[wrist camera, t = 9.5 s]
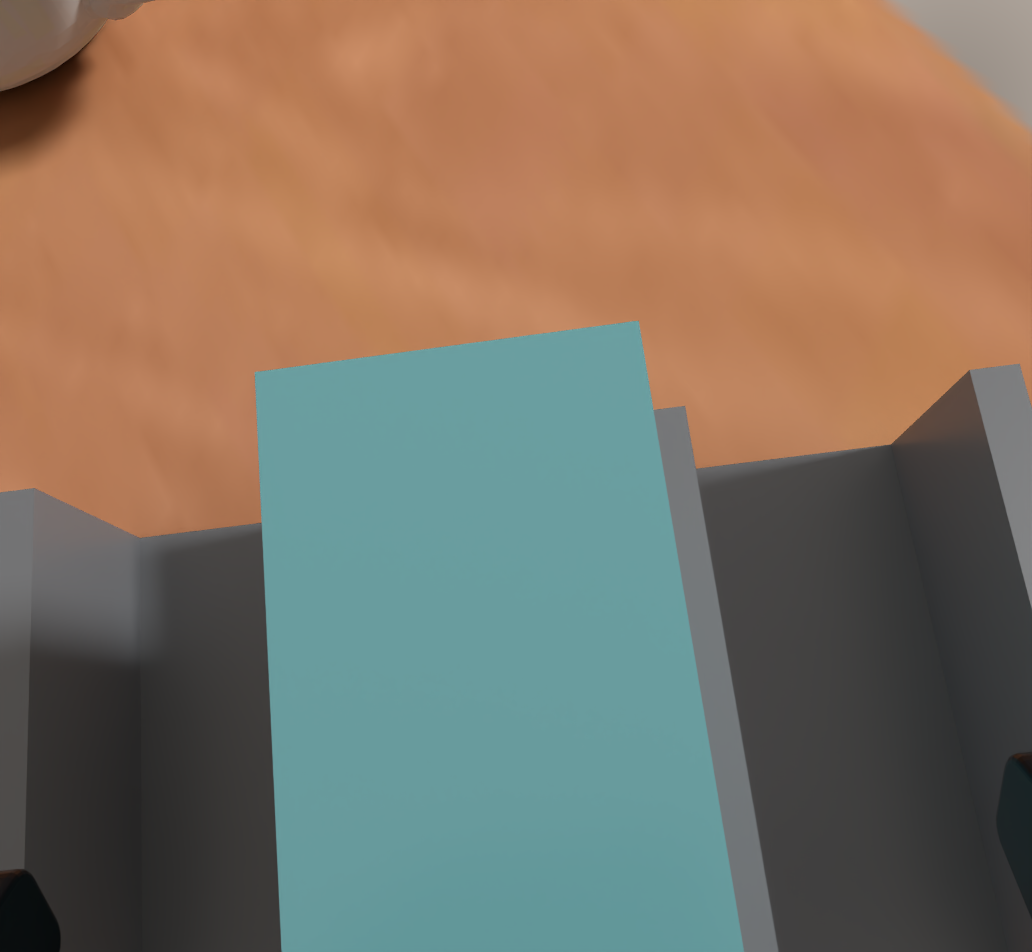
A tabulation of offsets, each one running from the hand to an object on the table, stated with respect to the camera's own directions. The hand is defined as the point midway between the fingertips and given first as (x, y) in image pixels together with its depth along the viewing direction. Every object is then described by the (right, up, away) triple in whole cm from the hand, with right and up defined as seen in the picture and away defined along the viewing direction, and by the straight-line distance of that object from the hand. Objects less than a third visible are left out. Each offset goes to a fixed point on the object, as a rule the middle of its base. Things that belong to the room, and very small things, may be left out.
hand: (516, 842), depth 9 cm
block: (+1, -2, +9) cm, 9 cm away
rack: (0, -2, +10) cm, 10 cm away
